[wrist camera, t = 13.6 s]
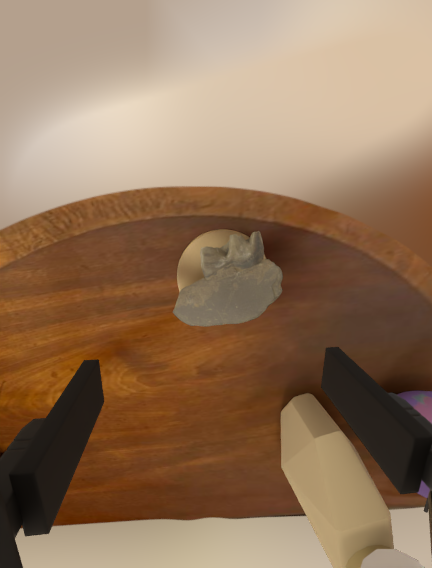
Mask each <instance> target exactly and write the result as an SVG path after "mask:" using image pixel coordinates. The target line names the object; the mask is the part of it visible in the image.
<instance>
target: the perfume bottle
mask: <svg viewBox="0 0 432 568" xmlns="http://www.w3.org/2000/svg"><path fill="white" fill-rule="evenodd" d="M281 467H282V469H283V471H284V473H285V475H286V477H287V479H288V481H289V483H290V485H291V487H292V489H293V490H294V492H295V494H296V496H297V498H298V500H299V502H300V504H301V506H302V508H303V510H304V512H305V514H306V516H307V517H308V519H309V521H310V523H311V525H312V527H313V529H314V531H315V533H316V535H317V537H318V539H319V541H320V542H321V545H322V547H323V549H324V551H325V552H326V554H327V556H328V558H329V560H330V562H331V564H332V566H333V568H424V567H423V566H422V565H421V564H420V563H419V561H418V560H416V559H415V558H412V557H411V556H409V555H407V554H405V553H402V552H401V551H399V550H397V549H394V545H393V535H392V526H391V517H390V512H389V510H388V508H387V506H386V504H385V503H384V501H383V499H382V497H381V495H380V493H379V491H378V489H377V488H376V486H375V484H374V482H373V480H372V478H371V476H370V475H369V473H368V471H367V469H366V467H365V465H364V463H363V462H362V460H361V458H360V456H359V454H358V452H357V450H356V448H355V447H354V445H353V444H352V443H351V442H350V440H349V439H348V438H347V437H346V436H345V434H344V433H343V432H342V431H341V429H340V428H339V427H338V426H337V424H336V423H335V422H334V421H333V419H332V418H331V417H330V416H329V414H328V413H327V412H326V411H325V409H324V408H323V407H322V406H321V404H320V403H319V402H318V401H317V399H316V398H315V397H314V396H313V395H312V394H309V393H306V394H303V395H299V396H296V397H294V398H293V399H292V400H291V401H290V402H289V403H288V404H287V405H286V406H285V407H284V408H283V410H282V411H281Z"/></svg>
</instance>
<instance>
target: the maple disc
mask: <svg viewBox="0 0 432 568" xmlns="http://www.w3.org/2000/svg"><path fill="white" fill-rule="evenodd" d="M233 234H236V235H237V236H240V235H242V236H243V237H244V239H245V240H247V239H249V237H248V236H246V235H244V234H242V233H240V232H237V231H234V230H229V229H217V230H212V231H209V232H206V233H204V234H202V235H200V236H198V237H197V238H195V239H194V240H193V241H192V242H191V243H190V244H189V245H188V246H187V247H186V249H185V250H184V252H183V253H182V256H181V258H180V261H179V264H178V270H177V283H178V287H179V291H181V290H182V289H183V288H184V287H186V286H189V285H191V284H193V283H194V282H196V281H198V280H201V279H202V278H204V274H203V271H202V268H201V256H200V250H201V248H202V247H207V246H208V247H213V248H221V247H222V246H224V245H226V244H227V243H228V242H229V240H230V235H233ZM264 259H266V257H265V255H264Z"/></svg>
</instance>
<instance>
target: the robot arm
mask: <svg viewBox="0 0 432 568" xmlns="http://www.w3.org/2000/svg"><path fill="white" fill-rule="evenodd" d="M321 388H322V389H323V390H324V392H325V393H326V395H327V396H328V397H329V399H330V400H331V401H332V403H333V404H334V405H335V407H336V408H337V409H338V411H339V412H340V413H341V415H342V416H343V417H344V419H345V420H346V421H347V423H348V424H349V425H350V427H351V428H352V430H353V431H354V432H355V434H356V435H357V436H358V438H359V439H360V440H361V442H362V443H363V444H364V446H365V447H366V448H367V450H368V451H369V452H370V454H371V455H372V456H373V458H374V459H375V460H376V462H377V463H378V465H379V466H380V467H381V469H382V470H383V471H384V473H385V474H386V475H387V477H388V478H389V479H390V481H391V482H392V483H393V485H394V486H395V487H396V489H397V490H398V491H399V493H400V494H408V493H417V492H419V489H420V485H421V481H423V482H424V483H425V484H426V486H427V487H428V488H429V489H430V491H429V494H428V498H427V501H426V505H425V508H424V511H425V512H428V509H429V521H430V537H431V553H432V423H431V422H430V421H428V420H427V419H426V418H425V417H424V416H422V415H421V414H420V413H419V412H418V411H417V410H416V409H414V407H413V406H411V405H410V404H409V403H408V402H407V401H406V400H405V399H403V398H401V397H400V396H398V395H396V394H394V393H387V392H386V391H385V390H384V389H383V388H382V387H381V386H379V385H378V384H377V383H376V382H375V381H374V380H373V379H372V378H371V377H370V376H369V375H368V374H367V373H365V372H364V371H363V370H362V369H361V368H360V367H359V366H358V365H357V364H356V363H355V362H354V361H353V360H352V359H350V358H349V357H348V356H347V355H346V354H345V353H344V352H343V351H342V350H341V349H340V348H339V347H330V348H326V352H325V360H324V368H323V376H322V384H321ZM103 403H104V396H103V389H102V381H101V374H100V366H99V360H84V361H83V363H82V364H81V366H80V367H79V369H78V370H77V372H76V373H75V375H74V376H73V378H72V379H71V381H70V382H69V384H68V385H67V387H66V388H65V390H64V392H63V393H62V395H61V396H60V398H59V399H58V401H57V402H56V404H55V405H54V407H53V408H52V410H51V411H50V413H49V414H48V416H47V417H46V418H41V419H33V420H32V421H31V422H30V423H28V424H27V425H26V426H25V427H23V428H22V429H21V431H20V432H19V433H18V435H17V436H16V437H15V439H14V441H13V442H12V443H11V444H10V445H9V447H8V448H7V451H5V452H4V454H3V455H2V456H1V458H0V568H23V566H22V563H21V560H20V556H19V552H18V549H17V545H16V542H15V537H16V535H17V533H18V531H19V529H20V527H21V525H22V526H23V530H24V534H25V536H32V535H41V534H49V532H50V530H51V527H52V525H53V522H54V520H55V518H56V515H57V513H58V511H59V508H60V506H61V503H62V501H63V499H64V496H65V494H66V492H67V489H68V487H69V484H70V482H71V480H72V477H73V475H74V472H75V470H76V468H77V465H78V463H79V461H80V458H81V456H82V453H83V451H84V449H85V446H86V444H87V442H88V439H89V437H90V434H91V432H92V430H93V427H94V425H95V422H96V420H97V418H98V415H99V413H100V411H101V408H102V406H103Z"/></svg>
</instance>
